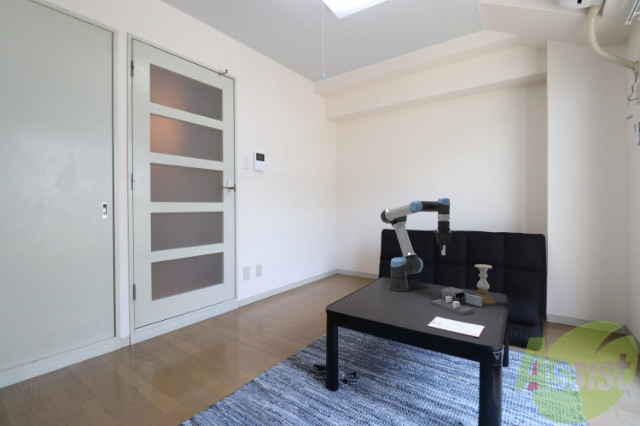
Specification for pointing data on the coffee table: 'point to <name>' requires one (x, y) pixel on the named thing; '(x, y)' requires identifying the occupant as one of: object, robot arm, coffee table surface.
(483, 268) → the candle holder
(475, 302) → the door
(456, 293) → the cabinet
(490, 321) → the coffee table surface
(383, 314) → the coffee table surface
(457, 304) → the fader
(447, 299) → the fader
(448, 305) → the console
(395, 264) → the robot arm
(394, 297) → the coffee table surface
